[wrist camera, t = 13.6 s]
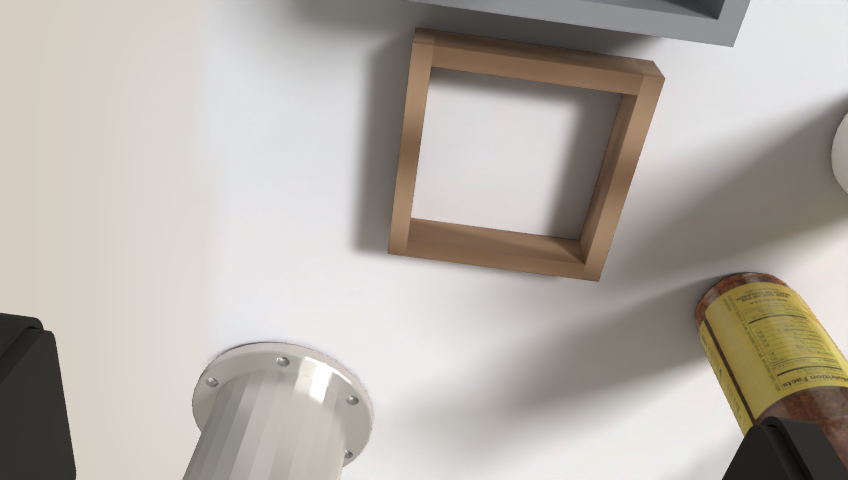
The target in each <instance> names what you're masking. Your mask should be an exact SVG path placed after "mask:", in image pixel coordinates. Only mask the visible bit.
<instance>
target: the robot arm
mask: <svg viewBox="0 0 848 480" xmlns="http://www.w3.org/2000/svg"><path fill="white" fill-rule="evenodd" d="M192 407H193V415H194V418H195V421H196V424H197V426H198V428H199V429H200V431H201V432H202V434H201V436H200V438H199V441H198V443H197V446H196V448H195V451H194V453H193V456H192V458H191V461H190V463H189V465H188V468H187V470H186V473H185V475H184V477H183V480H340V477H341V472H342V468H343V467H344V466H346V465H347V464H349V463H350V462H352V461H353V460H355V459H356V458H357V457H358V456H359V455H360V454H361V453H362V451H363V450H364V448H365V446H366V445H367V443H368V441H369V438H370V434H371V430H372V422H373V411H372V404H371V401H370V399H369V396H368V394H367V391H366V390H365V388H364V387H363V386H362V384H361V383H360V381H359V380H358V379H357V378H356V377H355V376H354V375H353V374H352V373H351V372H350V371H349V370H348V369H347V368H345V367H344V366H342V365H341V364H340V363H338V362H337V361H335V360H334V359H332V358H330V357H328V356H326V355H324V354H321V353H319V352H317V351H314V350H311V349H308V348H305V347H301V346H297V345H291V344H285V343H257V344H250V345H245V346H241V347H238V348H235V349H232V350H230V351H228V352H226V353H224V354H222V355H220V356H218V357H217V358H216V359H215V360H214V361H212V362H211V363H210V364H209V365H208V366H207V367H206V369H205V370H204V372H203V373H202V374H201V376H200V378H199V381H198V383H197V385H196V387H195V389H194V394H193V399H192ZM75 479H76V467H75V461H74V455H73V449H72V442H71V437H70V430H69V423H68V417H67V410H66V404H65V398H64V391H63V385H62V379H61V372H60V366H59V360H58V353H57V347H56V341H55V337H54V334H53V333H52V332H51V331H46V330H44V329H43V325H42V323H41V321H40V320H39V319H37V318H34V317H27V316H19V315H12V314H4V313H0V480H75ZM722 480H848V470H847V469H846V467H845V465H844V464H843V462H842V461H841V459H840V457H839V456H838V454H837V453H836V451H835V449H834V448H833V446H832V445H831V443H830V441H829V440H828V438H827V436H826V435H825V433H824V432H823V430H822V429H821V428H820V427H819V426H818V425H817V424H816V423H814V422H812V421H805V420H797V419H790V418H782V417H775V416H768V417H767V418H765V419H763V421H762V422H761V423H760V425H753V426H752V427H750V429H749V430H748V431H747V433H746V435H745V437H744V439H743V441H742V443H741V445H740V447H739V448H738V450H737V452H736V454H735V456H734V458H733V460H732V462H731V463H730V465H729V467H728V469H727V471H726V473H725V475H724V477H723V479H722Z"/></svg>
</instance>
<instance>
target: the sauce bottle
mask: <svg viewBox="0 0 848 480" xmlns="http://www.w3.org/2000/svg"><path fill="white" fill-rule="evenodd" d="M695 322H696V325H697V330H698V332H699V336H700V342H701V346H702V348H703V350H704V352H705V354H706V356H707V358H708V360H709V362H710V364H711V367H712V369H713V371H714V373H715V375H716V377H717V379H718V381H719V384H720V386H721V388H722V390H723V392H724V394H725V396H726V398H727V401H728V403H729V405H730V407H731V409H732V411H733V413H734V416H735V418H736V420H737V422H738V424H739V426H740V429H741V431H742V433H743V435H744V437H745V435H746V433H747V431H748V430H749V429H750V427H752V426H753V425H760V423H761V422H762V421H763V419H765V418H767V417H768V416H775V417H782V418H790V419H797V420H805V421H812V422H814V423H816V424H817V425H818V426H819V427H820V428H821V429H822V430H823V432H824V433H825V435H826V436H827V438H828V440H829V441H830V443H831V445H832V446H833V448H834V449H835V451H836V453H837V454H838V456H839V457H840V459H841V461H842V462H843V464H844V465H845V467H846V469H847V470H848V361H847V360H846V359H845V357H844V356H843V354H842V353H841V351H840V350H839V349H838V347H837V346H836V344H835V343H834V342H833V340H832V339H831V337H830V336H829V334H828V333H827V332H826V330H825V329H824V328H823V326H822V325H821V324H820V322H819V321H818V319H817V318H816V317H815V315H814V314H813V312H812V311H811V310H810V308H809V307H808V305H807V304H806V303H805V301H804V300H803V299H802V298H801V296H800V295H799V294H798V293H796V292H795V291H794V290H792V289H790V287H789V286H788V285H787V284H786V283H784V282H783V281H781V280H780V279H778V278H776V277H775V276H772V275H769V274H764V273H745V274H737V275H735V276H731V277H727V278H724V279H722V280H721V281H720V282H719V283H717V284H716V285H715V286H713V287H712V288H711V289H710V290H709V291H708V292H707V293H706V294H705V295H704V297H703V298H702V299H701V300H700V302H699V303H698V305H697V308H696V312H695Z"/></svg>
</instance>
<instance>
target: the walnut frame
mask: <svg viewBox="0 0 848 480" xmlns="http://www.w3.org/2000/svg"><path fill="white" fill-rule="evenodd" d="M431 66H432V67H439V68H446V69H453V70H460V71H467V72H474V73H482V74H489V75H496V76H503V77H510V78H517V79H524V80H531V81H539V82H546V83H553V84H560V85H567V86H574V87H581V88H588V89H596V90H603V91H610V92H617V93H623V96H622V99H621V102H620V106H619V109H618V112H617V116H616V119H615V122H614V126H613V129H612V133H611V136H610V139H609V143H608V146H607V149H606V153H605V156H604V159H603V163H602V166H601V170H600V173H599V176H598V180H597V183H596V186H595V190H594V193H593V197H592V200H591V203H590V207H589V210H588V213H587V217H586V220H585V223H584V227H583V230H582V234H581V237H580V240H571V239H564V238H556V237H549V236H542V235H534V234H527V233H519V232H512V231H504V230H497V229H489V228H482V227H475V226H467V225H460V224H452V223H445V222H437V221H430V220H423V219H415V218H411V211H412V203H413V196H414V188H415V181H416V174H417V166H418V159H419V152H420V144H421V137H422V129H423V122H424V115H425V107H426V100H427V93H428V85H429V78H430V70H431ZM664 80H665V77H664V76H663V75H662V73H661V72H660V70H659V69H658V67H657V66H656V64H655V63H654V62H653V61H649V60H642V59H635V58H628V57H621V56H614V55H607V54H600V53H593V52H586V51H579V50H572V49H564V48H557V47H550V46H543V45H536V44H529V43H522V42H515V41H508V40H501V39H494V38H487V37H480V36H473V35H466V34H459V33H452V32H445V31H437V30H430V29H423V28H416V29H415V34H414V38H413V44H412V52H411V61H410V69H409V77H408V86H407V94H406V103H405V111H404V120H403V128H402V137H401V145H400V153H399V162H398V170H397V179H396V187H395V196H394V204H393V213H392V221H391V229H390V238H389V246H388V254H394V255H402V256H409V257H417V258H424V259H432V260H440V261H447V262H455V263H462V264H470V265H477V266H485V267H492V268H500V269H507V270H515V271H522V272H530V273H537V274H545V275H552V276H560V277H567V278H575V279H582V280H590V281H597V282H599V279H600V276H601V273H602V270H603V267H604V264H605V260H606V257H607V254H608V251H609V248H610V245H611V242H612V239H613V236H614V233H615V230H616V227H617V224H618V221H619V218H620V215H621V212H622V209H623V206H624V202H625V199H626V196H627V193H628V190H629V187H630V184H631V181H632V178H633V175H634V172H635V169H636V166H637V163H638V160H639V157H640V154H641V151H642V148H643V145H644V141H645V138H646V135H647V132H648V129H649V126H650V123H651V120H652V117H653V114H654V111H655V108H656V105H657V102H658V99H659V96H660V93H661V90H662V87H663V83H664Z"/></svg>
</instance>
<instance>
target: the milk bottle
mask: <svg viewBox="0 0 848 480" xmlns="http://www.w3.org/2000/svg"><path fill="white" fill-rule="evenodd" d="M831 160H832V169H833V172H834V175H835V177H836V180H837V181H838V183H839V184H840V186H841V187H842V188H843V189H844V190H845V192H846V193H847V194H848V113H847V114H846V115H845V116H844V118H843V120H842V122H841V123H840V125H839V127H838V128H837V131H836V134H835V137H834V140H833V146H832V152H831Z"/></svg>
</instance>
